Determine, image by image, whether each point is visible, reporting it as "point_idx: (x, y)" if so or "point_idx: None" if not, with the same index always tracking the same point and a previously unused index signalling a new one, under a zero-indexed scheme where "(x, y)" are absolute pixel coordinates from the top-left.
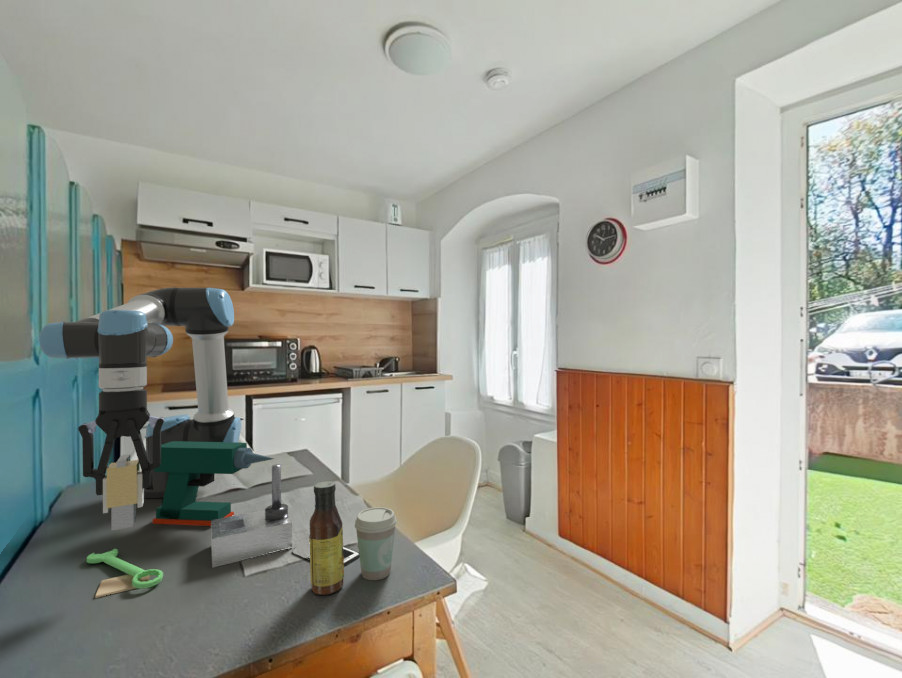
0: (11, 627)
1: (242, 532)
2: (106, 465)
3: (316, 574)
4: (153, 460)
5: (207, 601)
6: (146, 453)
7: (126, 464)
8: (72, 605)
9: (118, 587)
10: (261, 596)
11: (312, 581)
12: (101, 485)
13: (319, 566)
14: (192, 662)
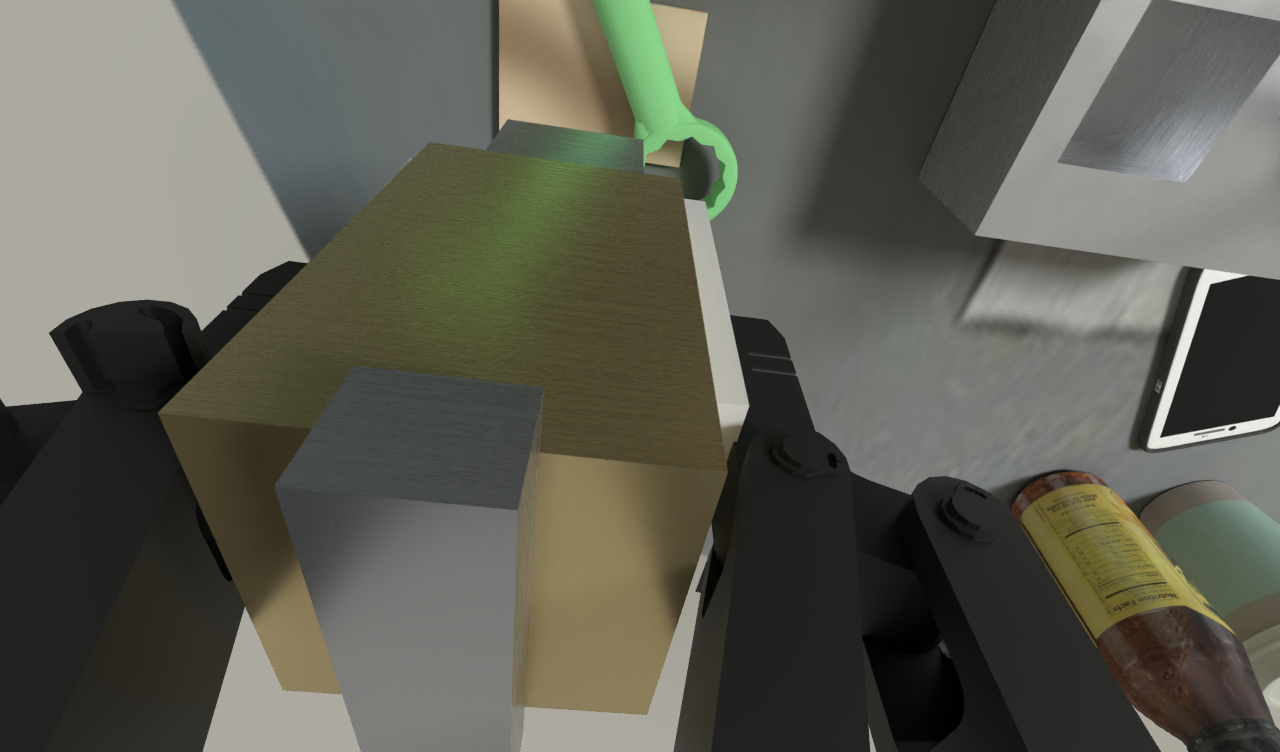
0: (272, 172)
1: (1116, 251)
2: (215, 642)
3: None
4: (872, 702)
5: (807, 386)
6: (863, 707)
7: (521, 723)
8: (430, 139)
9: (576, 123)
10: (921, 442)
11: (1025, 526)
12: None
13: None
14: (712, 543)
